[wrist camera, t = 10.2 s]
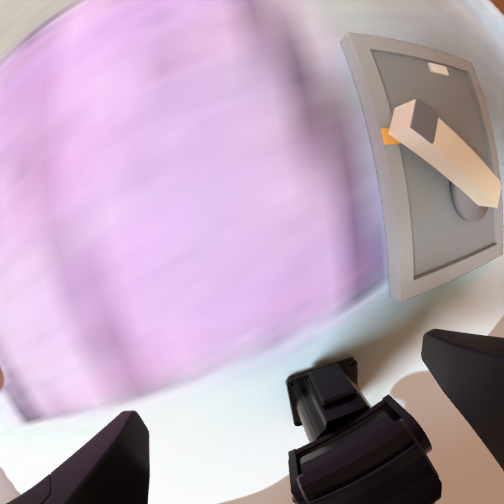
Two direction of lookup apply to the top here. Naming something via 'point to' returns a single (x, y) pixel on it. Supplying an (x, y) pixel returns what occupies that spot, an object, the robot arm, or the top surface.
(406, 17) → the top surface
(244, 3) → the top surface
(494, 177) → the long cream stick
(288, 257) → the top surface
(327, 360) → the top surface
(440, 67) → the board
